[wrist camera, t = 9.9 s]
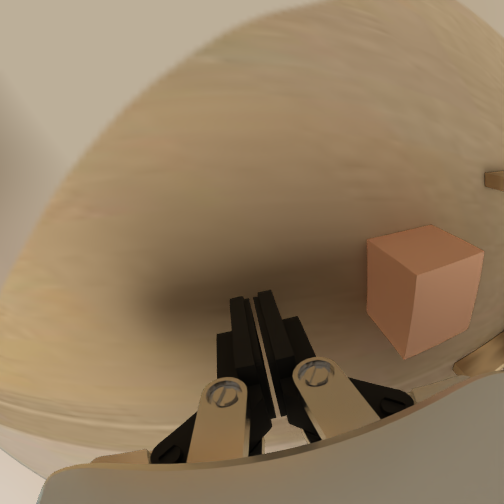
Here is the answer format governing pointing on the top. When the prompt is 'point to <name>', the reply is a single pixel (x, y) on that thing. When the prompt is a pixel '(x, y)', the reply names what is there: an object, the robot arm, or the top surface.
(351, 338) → the top surface
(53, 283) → the top surface
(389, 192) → the top surface
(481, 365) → the tan u-shaped piece
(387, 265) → the terracotta block
